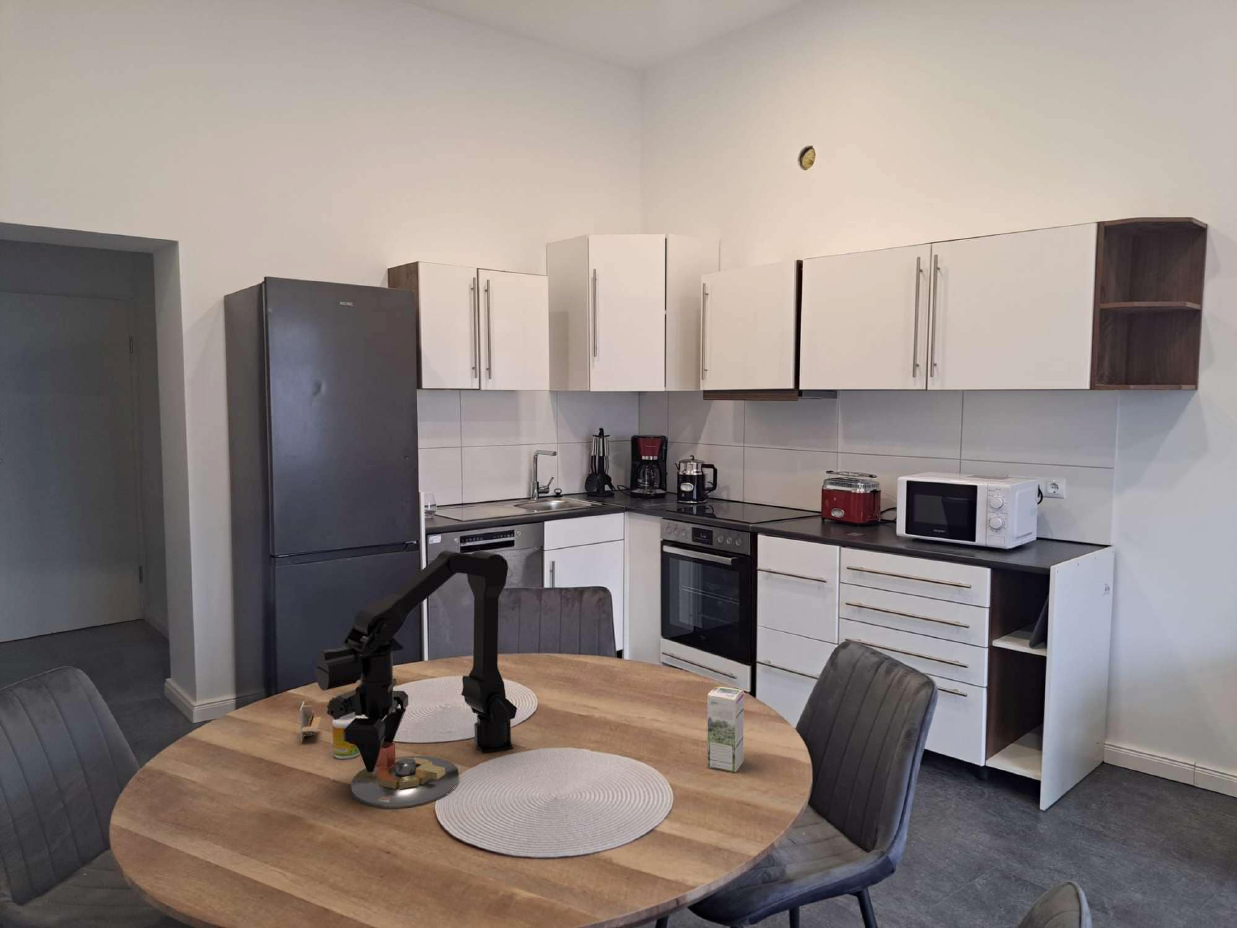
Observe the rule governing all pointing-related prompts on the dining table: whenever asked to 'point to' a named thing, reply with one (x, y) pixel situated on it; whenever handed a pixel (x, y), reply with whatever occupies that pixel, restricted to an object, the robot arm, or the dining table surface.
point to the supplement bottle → (339, 745)
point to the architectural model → (308, 721)
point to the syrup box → (725, 728)
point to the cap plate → (389, 798)
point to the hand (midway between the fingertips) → (378, 760)
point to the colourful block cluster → (423, 774)
